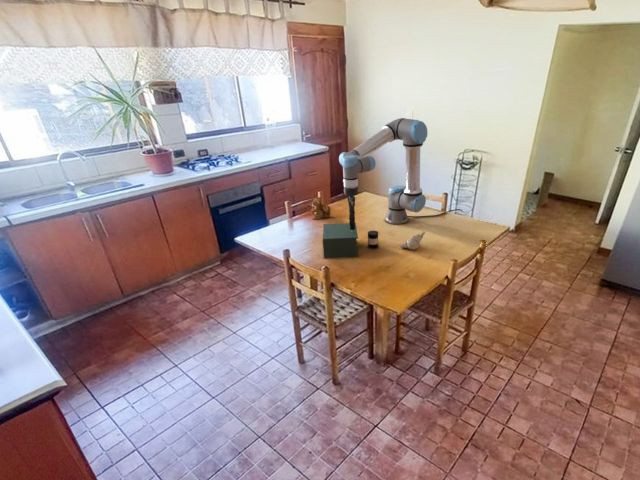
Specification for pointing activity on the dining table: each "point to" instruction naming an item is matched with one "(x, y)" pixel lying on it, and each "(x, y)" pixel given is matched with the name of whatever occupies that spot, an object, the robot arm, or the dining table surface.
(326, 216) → the stuffed squirrel
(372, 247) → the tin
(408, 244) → the seashell
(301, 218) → the dining table surface
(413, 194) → the robot arm
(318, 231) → the dining table surface
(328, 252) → the open box
